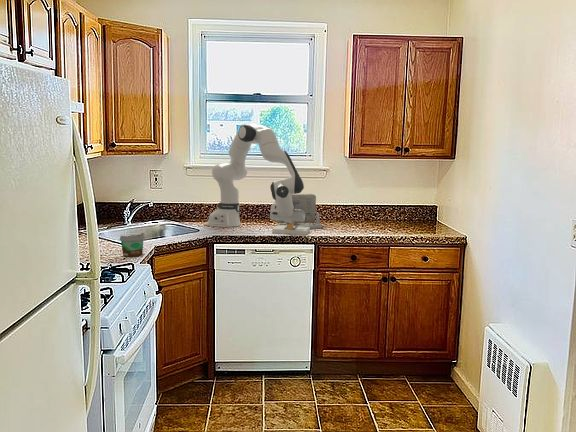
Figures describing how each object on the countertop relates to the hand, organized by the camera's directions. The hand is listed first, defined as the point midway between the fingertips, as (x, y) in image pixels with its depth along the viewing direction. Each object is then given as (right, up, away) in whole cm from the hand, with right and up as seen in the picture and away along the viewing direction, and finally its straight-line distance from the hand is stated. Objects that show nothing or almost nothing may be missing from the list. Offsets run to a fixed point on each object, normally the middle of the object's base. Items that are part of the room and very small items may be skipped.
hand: (288, 223), depth 320 cm
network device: (+4, -2, +32) cm, 32 cm away
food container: (-72, -15, -63) cm, 97 cm away
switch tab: (+1, -3, +4) cm, 5 cm away
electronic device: (+14, -4, +24) cm, 28 cm away
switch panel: (+1, -5, +8) cm, 10 cm away
